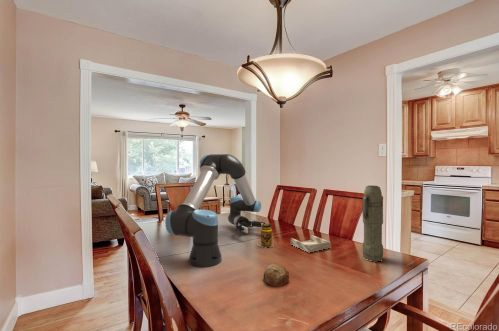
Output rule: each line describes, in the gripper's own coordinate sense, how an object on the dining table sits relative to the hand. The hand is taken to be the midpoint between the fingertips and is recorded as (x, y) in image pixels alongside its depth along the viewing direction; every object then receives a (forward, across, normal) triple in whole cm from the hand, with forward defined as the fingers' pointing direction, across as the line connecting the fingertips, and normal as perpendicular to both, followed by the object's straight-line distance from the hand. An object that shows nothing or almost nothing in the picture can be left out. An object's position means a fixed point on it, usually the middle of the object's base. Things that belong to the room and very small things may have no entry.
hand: (257, 229), depth 153 cm
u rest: (+23, -20, -7) cm, 31 cm away
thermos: (+51, -34, -7) cm, 62 cm away
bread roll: (+48, +19, -7) cm, 52 cm away
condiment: (+9, 0, -7) cm, 12 cm away
